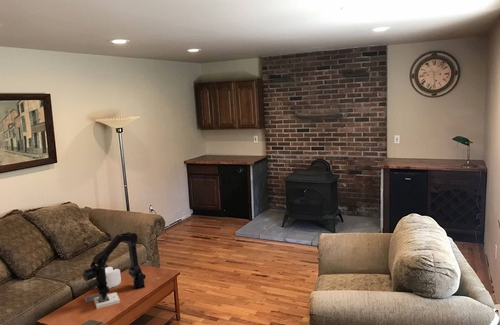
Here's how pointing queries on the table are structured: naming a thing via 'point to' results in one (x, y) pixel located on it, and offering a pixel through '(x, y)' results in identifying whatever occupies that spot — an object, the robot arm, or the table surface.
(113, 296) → the outlet plate
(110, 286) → the cable organizer
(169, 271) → the table surface
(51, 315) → the table surface
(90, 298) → the phone
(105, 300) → the charger
